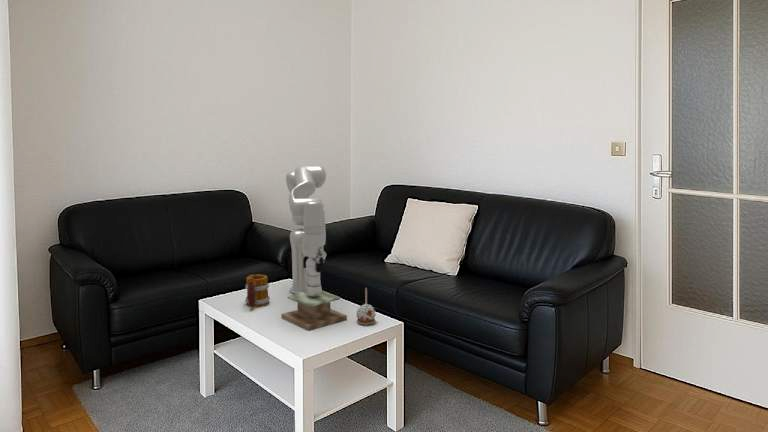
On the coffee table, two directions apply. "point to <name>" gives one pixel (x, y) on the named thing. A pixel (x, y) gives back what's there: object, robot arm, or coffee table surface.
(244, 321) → the coffee table surface
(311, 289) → the plastic bottle
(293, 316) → the walnut stand
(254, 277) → the mug
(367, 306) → the decorative ornament
